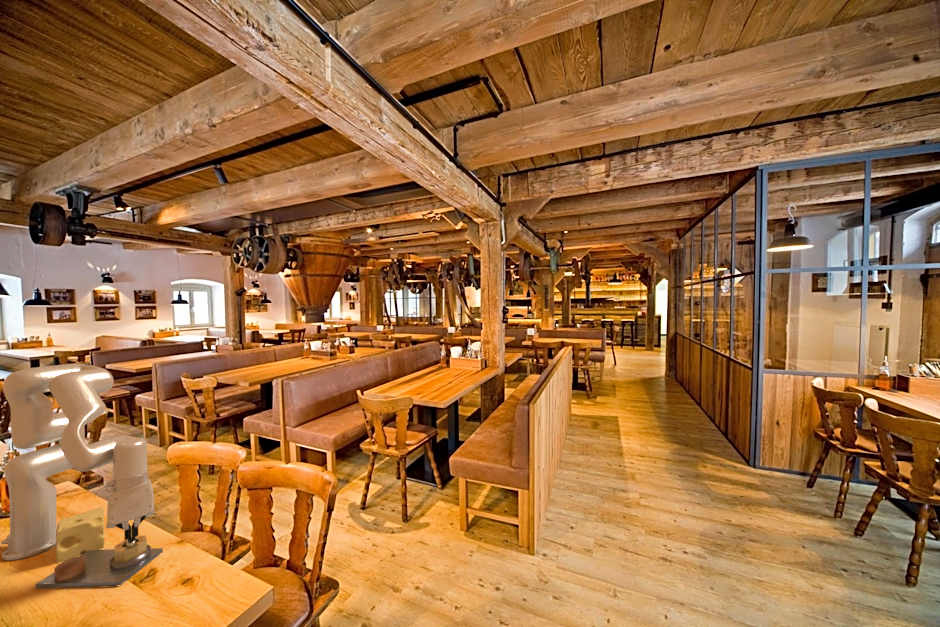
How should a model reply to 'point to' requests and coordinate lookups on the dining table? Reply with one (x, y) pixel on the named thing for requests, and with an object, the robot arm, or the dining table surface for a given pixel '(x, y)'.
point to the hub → (132, 562)
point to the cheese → (80, 534)
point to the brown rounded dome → (70, 568)
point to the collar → (130, 549)
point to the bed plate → (98, 571)
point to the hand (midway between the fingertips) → (131, 539)
